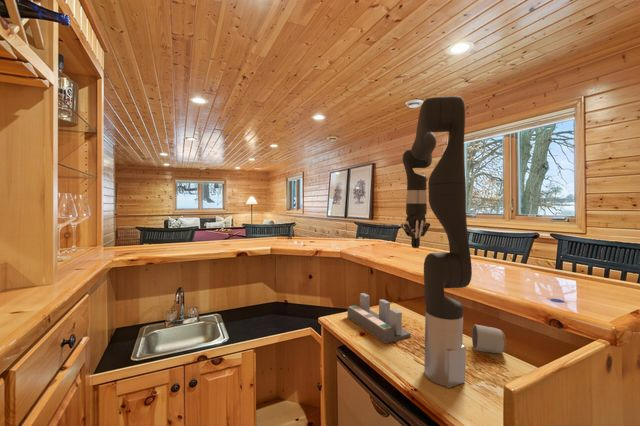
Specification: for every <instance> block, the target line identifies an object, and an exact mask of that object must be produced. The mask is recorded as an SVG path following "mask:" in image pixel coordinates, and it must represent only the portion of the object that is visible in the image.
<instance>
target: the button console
mask: <svg viewBox="0 0 640 426" xmlns="http://www.w3.org/2000/svg"><path fill="white" fill-rule="evenodd" d="M347 318H348V319H349V320H351V321H352V322H353V323H355V324H357V325H358V326H359V327H361V328H362V329H364V330H365V331H366V332H368V333H369V334H371V335H372V336H373V337H375V338H376V339H377V340H379V341H381V342H382V343H383V344H388V343H392V342H396V341H400V340H404V339H409V338H411V336H412V335H411V333H410V332H409V331H407V330H405V329H403V328H402V334H400V335H396V334H394V328H392V327H391V326H389V323H384V322H383V321H381V320H379V313H376V312H375V311H373V310H371V309H370V313H368V312H366V311H365V310H363V309H361V308H360V306H359V305H356V304H355V305H350V306H347Z"/></svg>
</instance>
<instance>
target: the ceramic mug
mask: <svg viewBox="0 0 640 426" xmlns="http://www.w3.org/2000/svg"><path fill="white" fill-rule="evenodd" d="M471 342H472V343H471V344H472V347H473V350H475V351H478V352H485V353H493V354H503V353H504V352H505V351H506V348H507V341H506V335H505V333H504V331H503V330H502V329H499V328H496V327H490V326H486V325H481V324H480V325H479V324H474V325H473V326H472V329H471Z"/></svg>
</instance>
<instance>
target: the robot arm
mask: <svg viewBox="0 0 640 426" xmlns="http://www.w3.org/2000/svg"><path fill="white" fill-rule="evenodd" d="M417 120H418V121H417V124H416V133H415V138H414V141H413V144H412V146H411V148H410V149H407V150H405V151H404V153H403V154H402V163H403V166H404V170H405V175H406V197H405V199H406V200H405V204H406V205H405V214H406V220H405V222H404V223H401V224H400V226H401V228H402V230H403V231H404V233H405V234H406V236H407V237H410V238H411V240H410V241H411V247H412V248H413V249H419V248H420V245H421V244H420V243H421V241H420V240H421V238H422V237H425V235H426V234H427V232H428V230H429V228H431V223H430V222H428V221H427V219H426V216H427V214H428V212H427V210H428V204H429V206H430V209H431V211H432V213H433V214H434V216H435V218H436V219H437V220H438V221H439V224H440V225H441V226H442V228H443V230H444V232H445V234H446V236H447V239H448V249H449V252H431V253H428V254H426V256H425V258H424V263H423V288H424V291H423V293H424V294H423V295H424V297H423V298H424V304H425V314H424V315H425V322H424V323H425V324H424V367H423V368H424V369H423V370H424V372H423V373H424V375H425V377H426V378H427V379H428V380H429V381H431V382H432V383H435V384H437V385H440V386H442V387H443V386H444V387H445V388H447V389H451V388H454V387H456V386H460V385H462V384H464V383H466V363H467V362H466V357H467V355H466V353H467V346H466V345H464V344H463V339H464V338H463V337H464V336H463V335H464V334H463V332H464V331H463V330H464V306H463V304H462V303H461V302H460V301H458V300H456V299H454V298H451V297H448V296H446V295H445V289H462V288H467V287H468V286H469V284H470V283H471V281H472V275H473V269H472V267H473V266H472V259H471V258H472V257H471V250H470V249H471V248H470V245H469V244H470V243H469V233H468V223H467V188H466V187H467V186H466V171H465V170H466V169H465V154H464V153H465V130H466V129H465V128H466V105H465V100H464V99H463V97H461V95H448V96H433V97H428V98H426V99H425V100H423V102H422V104H421V106H420V109H419V114H418V119H417ZM446 132H447V133H448V142H447V146H446V148H445V150H444V152H443V154H442V155H441V158H440V159H439V160H438V162H437V163H436V165H435V167H434V168H433V170H432V172H431V173H430V175H429V177H428V179H427V175H425V174H420V173H417V172H416V171H414V169H427V168H429V167H430V166H431V165H432V163H433V162H432V161H433V155H432V154H433V153H434V151H435V148H436V145H437V137H436V136H435V133H446ZM427 181H428V182H427ZM427 183H428V188H427ZM427 189H428V191H427Z"/></svg>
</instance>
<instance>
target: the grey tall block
mask: <svg viewBox="0 0 640 426" xmlns="http://www.w3.org/2000/svg"><path fill="white" fill-rule="evenodd" d="M402 318H403V312H401V311H400V310H398V309H396V308H390V318H389V326H391V327H392V328H394V334H396V335H400V334H402V329H403V326H402V325H403V319H402Z"/></svg>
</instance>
